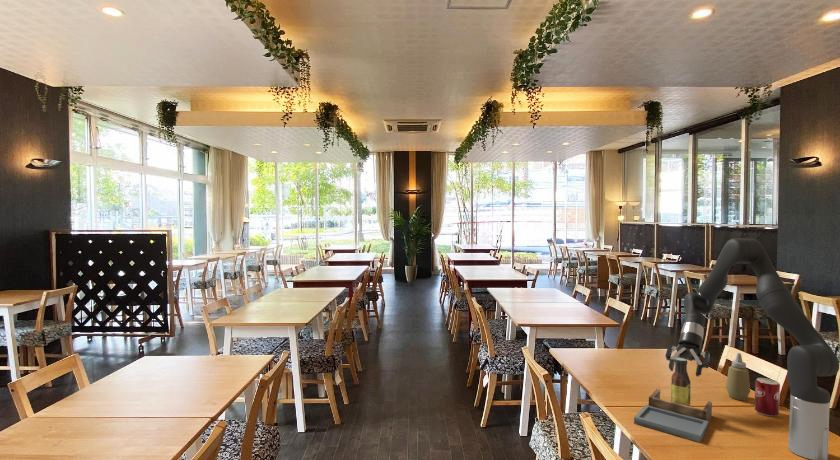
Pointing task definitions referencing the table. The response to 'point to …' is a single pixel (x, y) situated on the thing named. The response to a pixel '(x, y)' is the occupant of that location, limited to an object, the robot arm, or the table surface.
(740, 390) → the squeeze bottle
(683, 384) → the sauce bottle
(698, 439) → the tray
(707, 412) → the holder
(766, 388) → the soda can
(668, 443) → the table surface
